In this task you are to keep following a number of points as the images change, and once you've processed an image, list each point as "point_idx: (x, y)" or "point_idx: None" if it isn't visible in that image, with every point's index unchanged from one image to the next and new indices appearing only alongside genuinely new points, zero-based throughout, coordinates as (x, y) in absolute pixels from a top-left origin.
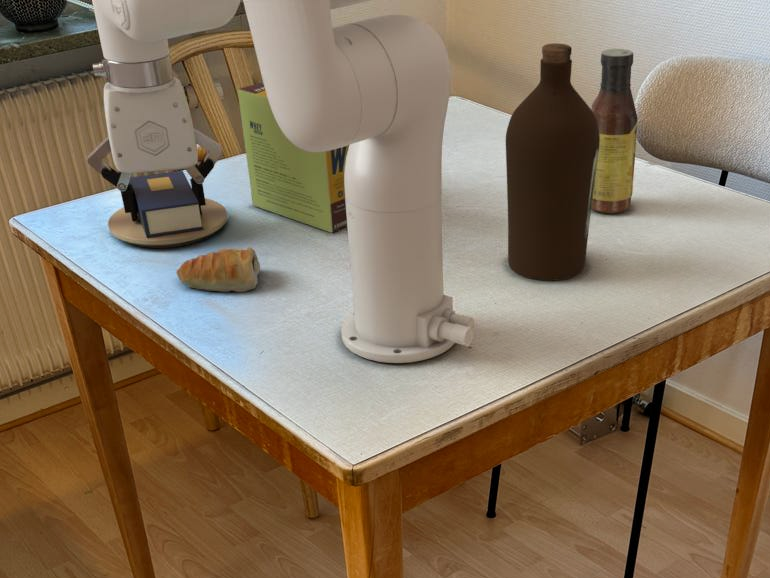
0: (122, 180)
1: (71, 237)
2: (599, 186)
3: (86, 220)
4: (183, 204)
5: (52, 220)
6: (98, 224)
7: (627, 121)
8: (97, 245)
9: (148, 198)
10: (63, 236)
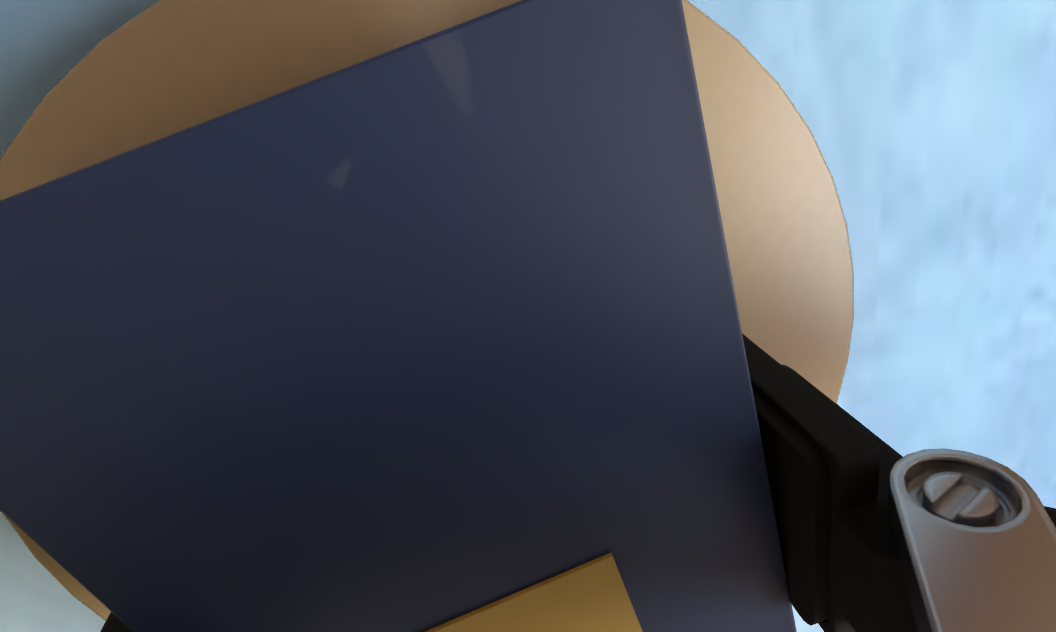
0: (1015, 557)
1: (1002, 233)
2: None
3: (911, 440)
4: (18, 196)
5: (1047, 427)
6: (861, 402)
7: None
8: (880, 107)
9: (618, 382)
10: (1036, 246)
